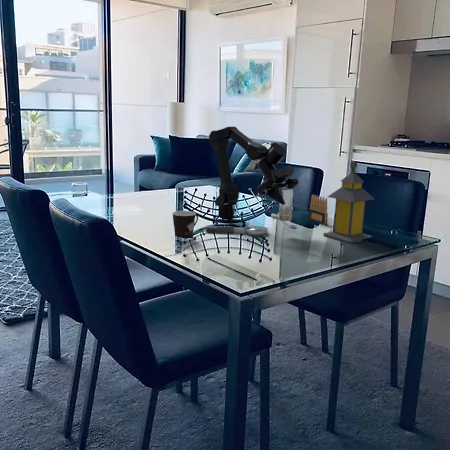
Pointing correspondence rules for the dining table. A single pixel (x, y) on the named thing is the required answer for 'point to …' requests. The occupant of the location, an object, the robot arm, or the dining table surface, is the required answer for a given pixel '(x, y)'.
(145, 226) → the dining table surface
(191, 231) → the coffee mug
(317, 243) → the dining table surface
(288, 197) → the socket
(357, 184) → the lantern
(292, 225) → the adjustable wrench
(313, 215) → the ammunition clip
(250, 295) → the dining table surface
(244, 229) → the ratchet
